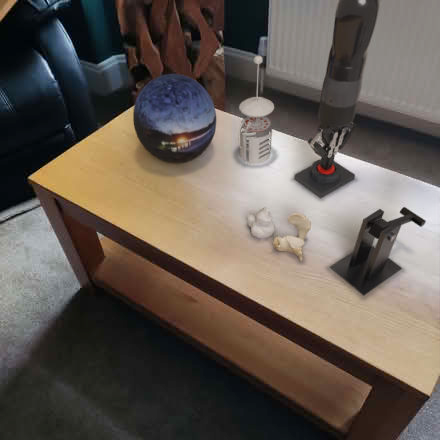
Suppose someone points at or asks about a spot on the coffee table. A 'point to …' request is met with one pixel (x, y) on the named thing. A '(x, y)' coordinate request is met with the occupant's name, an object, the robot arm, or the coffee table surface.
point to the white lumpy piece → (261, 223)
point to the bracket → (369, 257)
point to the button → (325, 170)
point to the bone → (293, 242)
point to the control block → (323, 179)
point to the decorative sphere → (174, 118)
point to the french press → (256, 127)
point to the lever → (406, 218)
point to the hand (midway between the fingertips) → (325, 167)
